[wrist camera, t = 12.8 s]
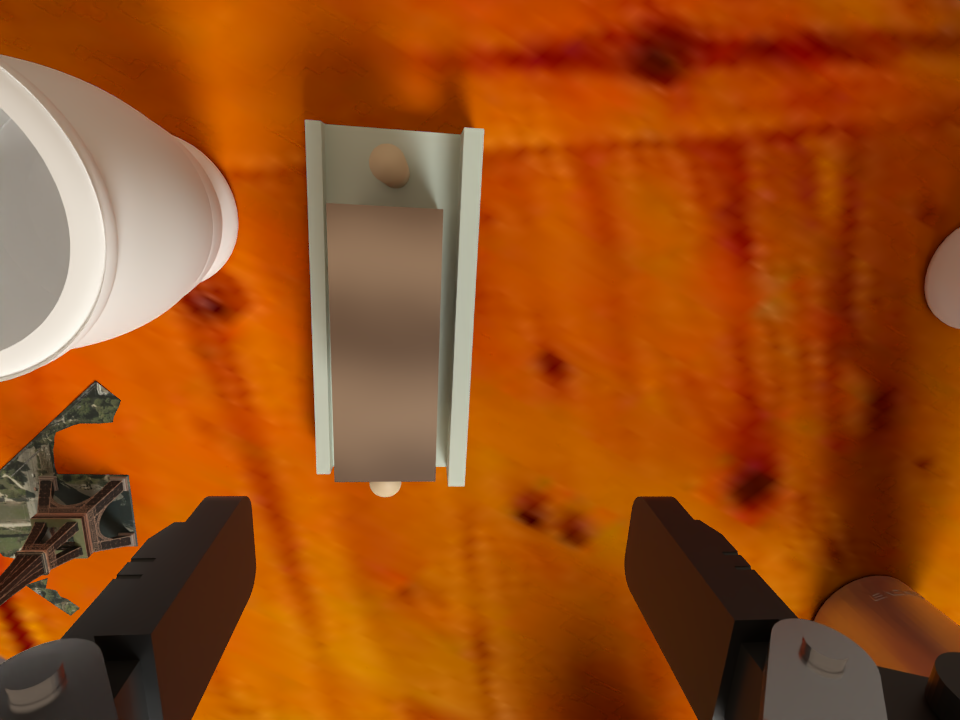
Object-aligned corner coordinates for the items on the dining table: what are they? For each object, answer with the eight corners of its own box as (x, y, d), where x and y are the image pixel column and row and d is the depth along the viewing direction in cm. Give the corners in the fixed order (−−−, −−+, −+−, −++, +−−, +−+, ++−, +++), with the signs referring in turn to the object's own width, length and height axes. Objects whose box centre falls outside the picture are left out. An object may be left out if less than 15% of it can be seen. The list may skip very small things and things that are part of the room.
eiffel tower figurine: (101, 372, 31) (-120, 484, 19) (230, 478, 34) (116, 638, 21) (-56, 522, 33) (-358, 720, 20) (80, 612, 36) (-108, 834, 23)
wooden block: (432, 408, 32) (435, 481, 23) (355, 408, 32) (329, 482, 23) (437, 209, 29) (443, 209, 20) (352, 204, 28) (320, 202, 20)
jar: (298, 217, 30) (179, 223, 15) (181, 339, 31) (-31, 452, 16) (139, 64, 27) (-194, -108, 12) (17, 206, 28) (-413, 201, 14)
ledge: (460, 456, 35) (469, 519, 28) (324, 455, 34) (297, 521, 27) (476, 139, 29) (493, 116, 22) (314, 127, 28) (277, 98, 21)
